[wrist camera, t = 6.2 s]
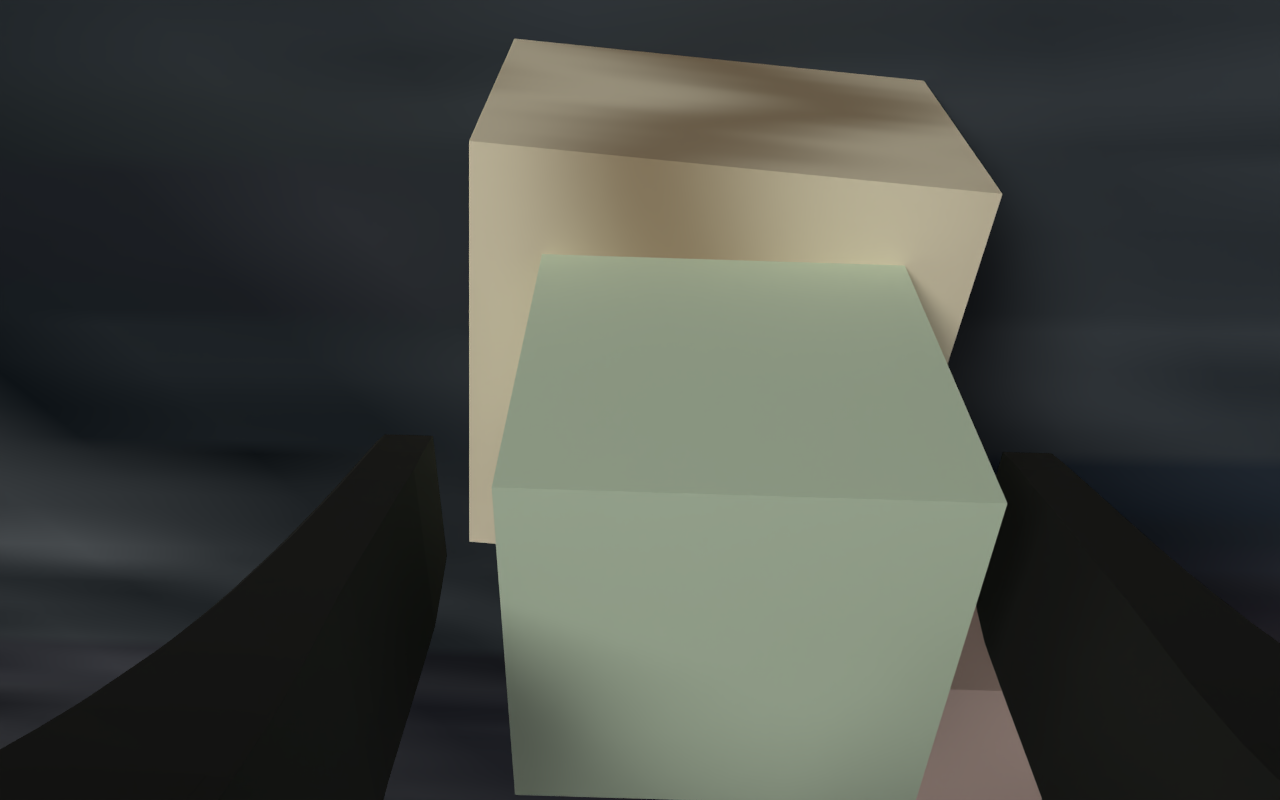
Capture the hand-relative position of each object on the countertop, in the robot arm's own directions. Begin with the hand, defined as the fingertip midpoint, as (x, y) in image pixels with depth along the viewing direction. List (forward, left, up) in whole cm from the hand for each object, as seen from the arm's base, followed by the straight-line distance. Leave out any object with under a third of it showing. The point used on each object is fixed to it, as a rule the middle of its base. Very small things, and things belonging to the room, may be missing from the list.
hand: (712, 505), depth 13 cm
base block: (0, 0, -8) cm, 8 cm away
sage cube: (0, 0, -3) cm, 3 cm away
